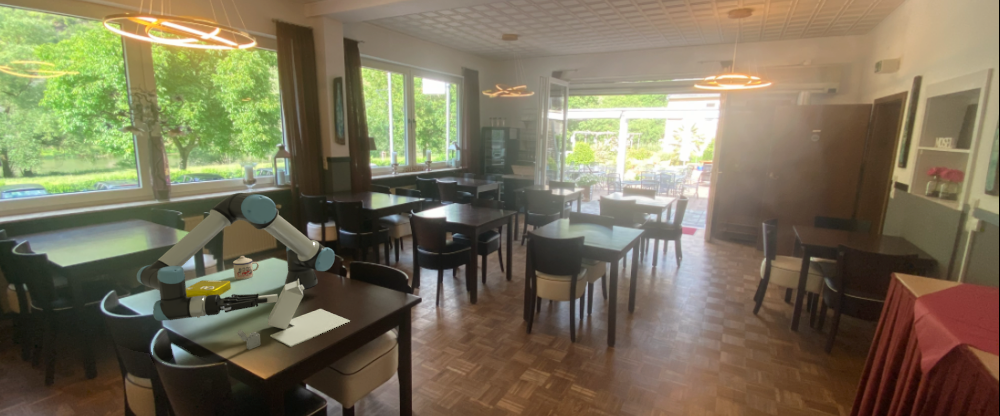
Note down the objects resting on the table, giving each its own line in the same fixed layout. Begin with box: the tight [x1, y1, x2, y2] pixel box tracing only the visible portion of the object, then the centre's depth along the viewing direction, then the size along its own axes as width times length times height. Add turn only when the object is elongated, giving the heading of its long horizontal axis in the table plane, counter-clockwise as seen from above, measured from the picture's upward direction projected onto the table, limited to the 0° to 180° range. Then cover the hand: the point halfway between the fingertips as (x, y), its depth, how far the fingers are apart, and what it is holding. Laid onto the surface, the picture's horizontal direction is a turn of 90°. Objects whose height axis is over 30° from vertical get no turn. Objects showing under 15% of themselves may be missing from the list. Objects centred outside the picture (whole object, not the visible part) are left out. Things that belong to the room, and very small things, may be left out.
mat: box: [269, 308, 351, 348], centre depth 168 cm, size 26×21×1 cm
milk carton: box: [267, 279, 305, 330], centre depth 167 cm, size 7×7×19 cm
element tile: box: [186, 279, 232, 297], centre depth 201 cm, size 15×15×5 cm
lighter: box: [236, 329, 262, 350], centre depth 150 cm, size 7×2×8 cm, turn 149°
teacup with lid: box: [232, 255, 260, 280], centre depth 225 cm, size 12×9×12 cm
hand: (277, 298), depth 164 cm, fingers closed
